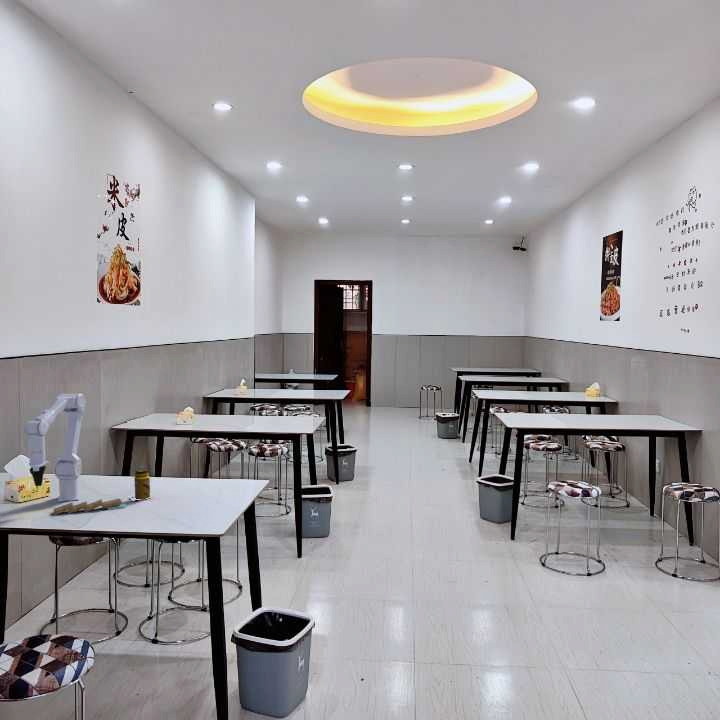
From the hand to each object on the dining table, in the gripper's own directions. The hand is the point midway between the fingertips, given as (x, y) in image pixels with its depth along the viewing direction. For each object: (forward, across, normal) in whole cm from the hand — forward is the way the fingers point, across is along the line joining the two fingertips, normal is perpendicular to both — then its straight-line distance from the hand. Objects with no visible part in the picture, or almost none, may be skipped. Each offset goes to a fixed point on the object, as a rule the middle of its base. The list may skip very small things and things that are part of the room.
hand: (38, 485), depth 276 cm
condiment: (+11, +6, -38) cm, 40 cm away
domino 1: (+10, -5, -6) cm, 12 cm away
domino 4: (+9, -4, -23) cm, 25 cm away
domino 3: (+10, -5, -16) cm, 20 cm away
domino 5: (+10, -5, -25) cm, 27 cm away
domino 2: (+10, -5, -11) cm, 15 cm away
